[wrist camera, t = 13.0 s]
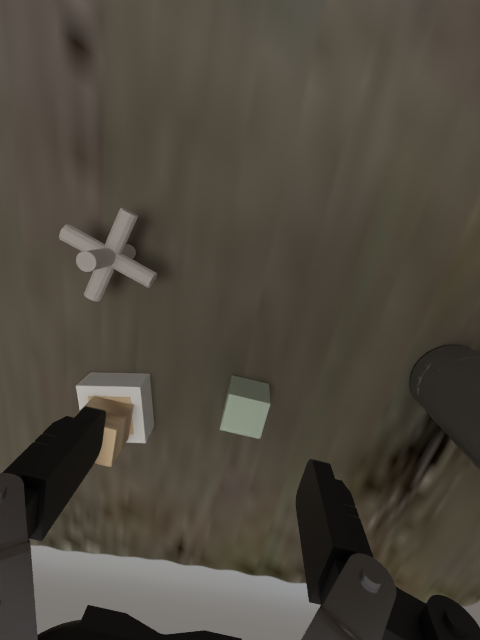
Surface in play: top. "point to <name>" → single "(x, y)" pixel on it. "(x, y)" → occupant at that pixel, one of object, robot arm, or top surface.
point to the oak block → (112, 428)
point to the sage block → (246, 407)
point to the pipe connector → (108, 255)
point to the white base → (123, 398)
